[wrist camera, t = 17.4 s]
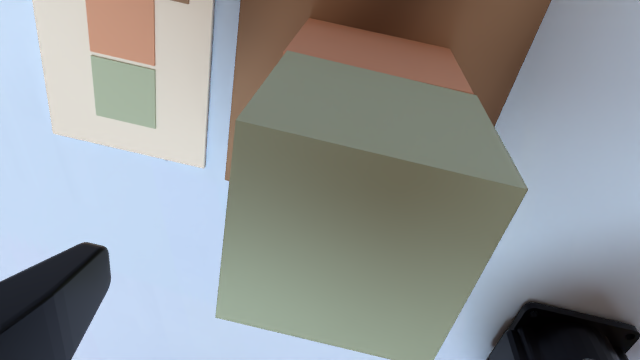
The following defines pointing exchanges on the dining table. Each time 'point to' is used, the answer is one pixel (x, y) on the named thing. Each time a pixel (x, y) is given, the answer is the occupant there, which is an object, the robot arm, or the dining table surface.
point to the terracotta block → (380, 53)
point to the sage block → (361, 208)
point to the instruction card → (129, 73)
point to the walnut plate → (399, 21)
